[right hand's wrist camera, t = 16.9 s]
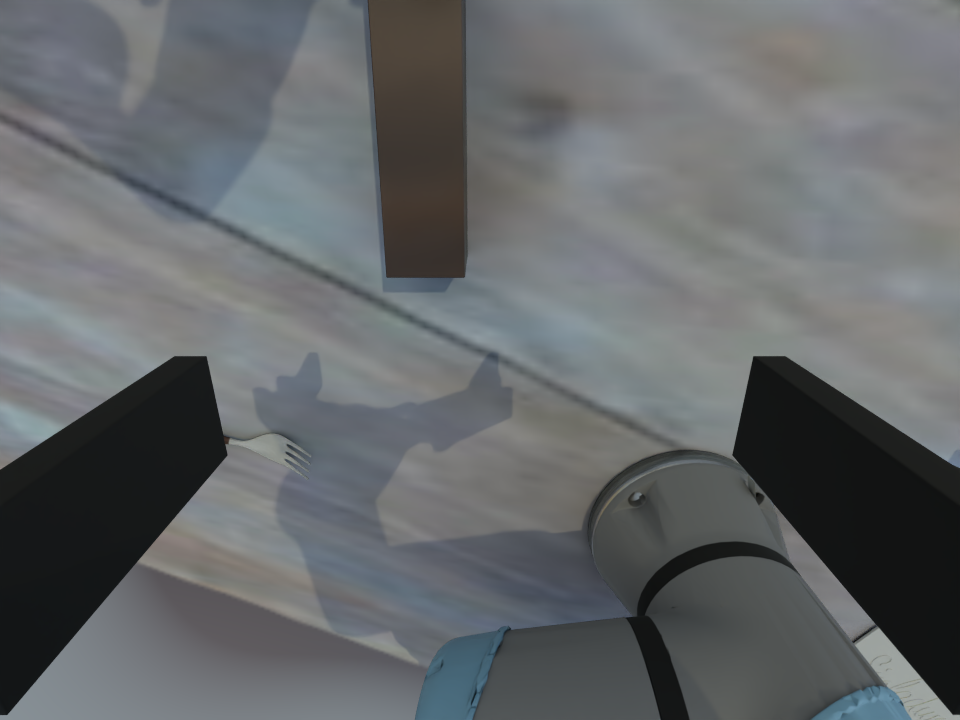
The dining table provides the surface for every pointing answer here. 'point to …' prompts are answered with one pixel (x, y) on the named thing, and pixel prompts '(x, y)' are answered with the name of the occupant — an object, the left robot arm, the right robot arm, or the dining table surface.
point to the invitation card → (902, 678)
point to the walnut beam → (421, 134)
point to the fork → (273, 449)
